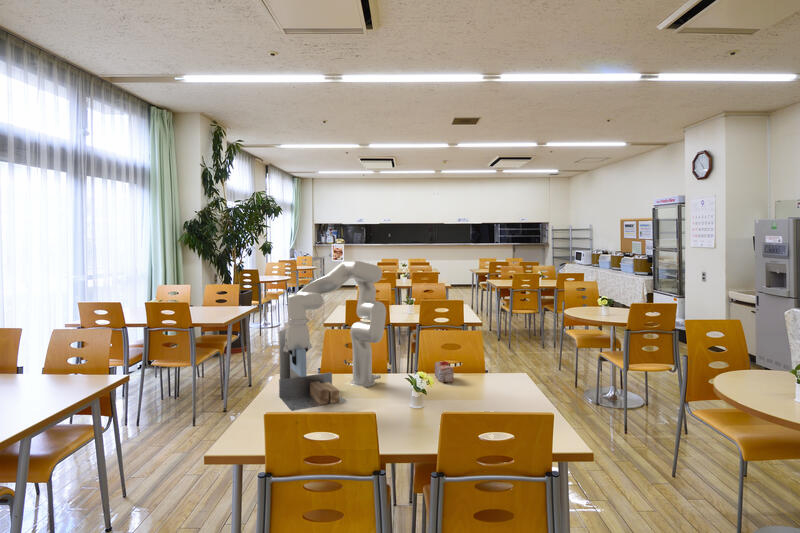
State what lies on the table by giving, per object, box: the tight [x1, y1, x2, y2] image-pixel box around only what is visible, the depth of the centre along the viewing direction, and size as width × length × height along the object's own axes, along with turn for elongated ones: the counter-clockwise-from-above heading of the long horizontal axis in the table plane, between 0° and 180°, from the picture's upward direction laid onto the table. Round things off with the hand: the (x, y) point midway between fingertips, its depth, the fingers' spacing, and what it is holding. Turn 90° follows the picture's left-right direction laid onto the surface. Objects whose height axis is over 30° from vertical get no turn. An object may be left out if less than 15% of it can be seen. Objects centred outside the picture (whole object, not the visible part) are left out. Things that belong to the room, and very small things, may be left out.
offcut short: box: [321, 382, 340, 403], centre depth 215 cm, size 4×14×5 cm, turn 28°
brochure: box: [278, 328, 300, 379], centre depth 229 cm, size 14×6×30 cm, turn 168°
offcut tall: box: [310, 382, 329, 404], centre depth 213 cm, size 4×14×6 cm, turn 28°
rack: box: [278, 372, 348, 412], centre depth 213 cm, size 25×21×9 cm
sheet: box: [290, 348, 308, 377], centre depth 208 cm, size 2×16×11 cm, turn 28°
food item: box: [434, 360, 455, 383], centre depth 246 cm, size 14×8×10 cm, turn 14°
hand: (298, 363), depth 208 cm, fingers closed on sheet, 2 cm apart
